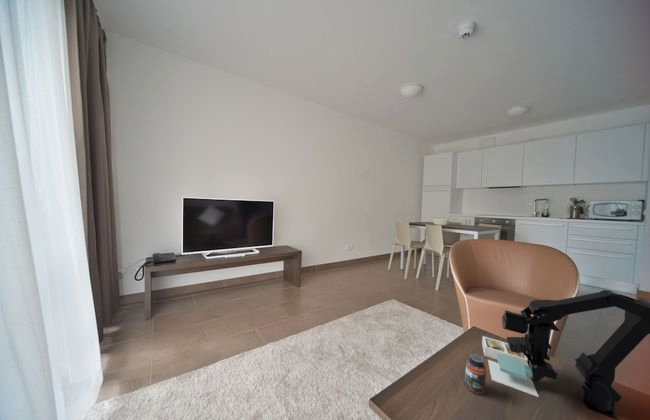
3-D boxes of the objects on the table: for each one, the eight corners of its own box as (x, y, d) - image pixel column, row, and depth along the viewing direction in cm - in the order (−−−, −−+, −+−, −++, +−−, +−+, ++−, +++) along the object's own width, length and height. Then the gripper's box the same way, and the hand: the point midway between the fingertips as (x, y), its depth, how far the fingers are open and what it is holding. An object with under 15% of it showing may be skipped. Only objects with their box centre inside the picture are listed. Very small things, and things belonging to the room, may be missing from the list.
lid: (533, 368, 85) (534, 364, 85) (542, 385, 78) (542, 380, 77) (496, 356, 91) (496, 352, 91) (500, 370, 83) (500, 366, 83)
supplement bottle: (478, 382, 83) (481, 352, 82) (488, 396, 77) (491, 365, 76) (461, 380, 83) (463, 351, 82) (469, 394, 77) (472, 363, 76)
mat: (528, 374, 87) (528, 373, 87) (538, 397, 77) (538, 396, 77) (487, 360, 94) (487, 359, 94) (491, 380, 83) (492, 379, 83)
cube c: (496, 350, 100) (497, 341, 100) (501, 356, 96) (502, 347, 96) (486, 348, 101) (487, 340, 100) (491, 355, 97) (492, 346, 96)
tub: (523, 357, 97) (525, 348, 96) (530, 371, 89) (531, 361, 89) (481, 344, 104) (482, 336, 104) (484, 355, 96) (485, 347, 96)
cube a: (519, 356, 97) (520, 349, 97) (523, 360, 94) (523, 354, 94) (511, 354, 98) (511, 347, 98) (514, 358, 95) (515, 352, 95)
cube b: (517, 361, 94) (517, 354, 94) (516, 364, 92) (517, 357, 91) (507, 357, 96) (508, 350, 96) (507, 360, 94) (507, 353, 94)
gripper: (504, 318, 93) (501, 353, 94) (515, 343, 77) (510, 386, 78) (541, 327, 87) (536, 364, 89) (560, 356, 71) (554, 402, 72)
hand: (533, 377), depth 82 cm, fingers closed on lid, 3 cm apart
